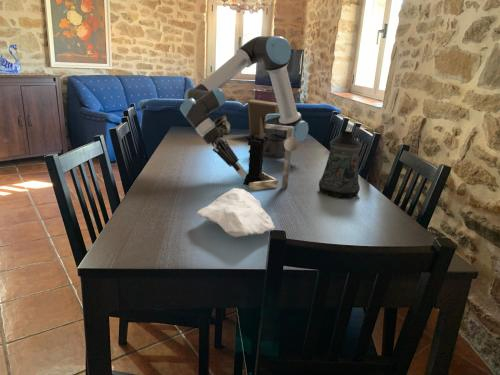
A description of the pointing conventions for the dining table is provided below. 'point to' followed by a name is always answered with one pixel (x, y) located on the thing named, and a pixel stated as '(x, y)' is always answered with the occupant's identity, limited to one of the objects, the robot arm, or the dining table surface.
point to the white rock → (238, 214)
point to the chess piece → (255, 159)
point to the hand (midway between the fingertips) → (244, 175)
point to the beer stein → (342, 168)
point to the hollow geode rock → (222, 125)
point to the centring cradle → (289, 146)
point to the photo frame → (260, 115)
